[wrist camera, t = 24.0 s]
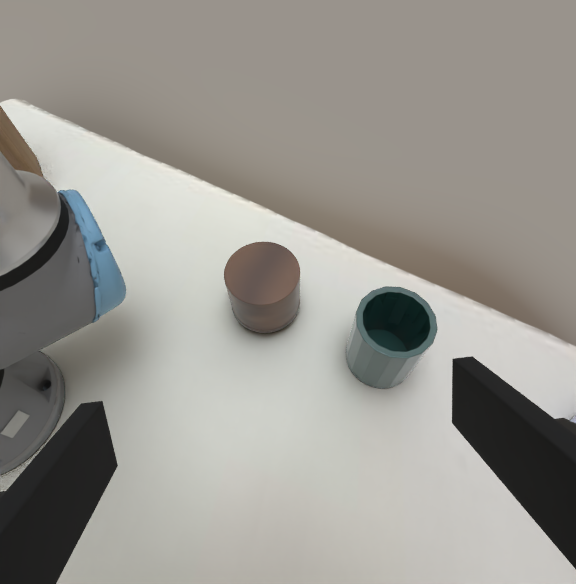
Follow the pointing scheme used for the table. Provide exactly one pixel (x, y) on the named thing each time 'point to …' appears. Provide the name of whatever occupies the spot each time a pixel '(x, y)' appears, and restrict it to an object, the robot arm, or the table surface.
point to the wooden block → (16, 147)
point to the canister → (389, 336)
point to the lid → (263, 286)
